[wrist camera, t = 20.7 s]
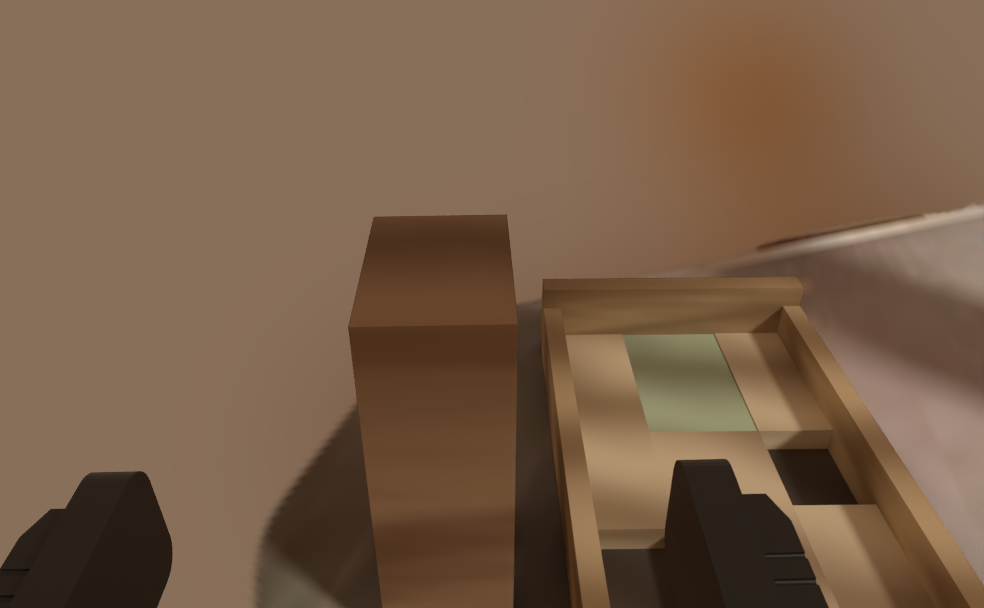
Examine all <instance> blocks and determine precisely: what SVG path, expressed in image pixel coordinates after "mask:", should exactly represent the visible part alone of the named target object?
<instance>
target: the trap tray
mask: <svg viewBox="0 0 984 608" xmlns="http://www.w3.org/2000/svg"><path fill="white" fill-rule="evenodd" d="M803 291H804V286H803V285H802V283H801V282H800V280H799V279H798V278H797V277H717V278H613V279H543V293H542V321H541V351H542V360H543V368H544V377H545V386H546V394H547V403H548V411H549V420H550V429H551V437H552V446H553V455H554V463H555V472H556V481H557V489H558V498H559V507H560V515H561V524H562V532H563V541H564V550H565V558H566V567H567V576H568V584H569V593H570V602H571V608H677V605H676V601H675V597H674V592H673V588H672V584H671V580H670V576H669V572H668V567H667V561H666V553H665V524H666V517H667V510H668V503H669V496H670V489H671V483H672V476H673V469H674V465H675V462H676V461H677V460H698V459H727V460H728V461H729V462H730V464H731V466H732V468H733V471H734V474H735V476H736V479H737V482H738V484H739V487H740V490H741V492H742V494H767V495H768V496H769V498H770V499H771V500H772V501H773V502H774V503H775V504H776V505H777V506H778V507H779V508H780V509H781V510H782V511H783V512H784V513H785V514H786V515H787V516H788V517H789V518H790V520H791V521H792V523H793V525H794V528H795V530H796V532H797V535H798V537H799V539H800V542H801V544H802V546H803V549H804V551H805V558H808V560H809V563H810V565H811V567H812V570H813V572H814V574H815V577H816V583H817V585H819V586H820V588H821V591H822V593H823V595H824V597H825V600H826V602H827V604H828V607H829V608H984V585H983V584H982V582H981V580H980V579H979V577H978V576H977V574H976V573H975V571H974V570H973V568H972V567H971V565H970V564H969V562H968V561H967V559H966V558H965V556H964V555H963V553H962V552H961V550H960V549H959V547H958V546H957V544H956V542H955V541H954V539H953V538H952V536H951V535H950V533H949V532H948V530H947V529H946V527H945V526H944V524H943V523H942V521H941V520H940V518H939V517H938V515H937V514H936V512H935V511H934V509H933V507H932V506H931V504H930V503H929V501H928V500H927V498H926V497H925V495H924V494H923V492H922V491H921V489H920V488H919V486H918V485H917V483H916V482H915V480H914V479H913V477H912V476H911V474H910V473H909V471H908V469H907V468H906V466H905V465H904V463H903V462H902V460H901V459H900V457H899V456H898V454H897V453H896V451H895V450H894V448H893V447H892V445H891V444H890V442H889V441H888V439H887V438H886V436H885V434H884V433H883V431H882V430H881V428H880V427H879V425H878V424H877V422H876V421H875V419H874V418H873V416H872V415H871V413H870V412H869V410H868V409H867V407H866V406H865V404H864V403H863V401H862V400H861V398H860V396H859V395H858V393H857V392H856V390H855V389H854V387H853V386H852V384H851V383H850V381H849V380H848V378H847V377H846V375H845V374H844V372H843V371H842V369H841V368H840V366H839V365H838V363H837V361H836V360H835V358H834V357H833V355H832V354H831V352H830V351H829V349H828V348H827V346H826V345H825V343H824V342H823V340H822V339H821V337H820V336H819V334H818V333H817V331H816V330H815V328H814V327H813V325H812V323H811V322H810V320H809V319H808V317H807V316H806V314H805V313H804V311H803V310H802V308H801V307H800V304H801V300H802V295H803Z"/></svg>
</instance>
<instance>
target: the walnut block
mask: <svg viewBox="0 0 984 608" xmlns="http://www.w3.org/2000/svg"><path fill="white" fill-rule="evenodd" d="M348 329H349V336H350V345H351V353H352V362H353V370H354V378H355V387H356V395H357V403H358V412H359V420H360V428H361V436H362V445H363V453H364V461H365V469H366V478H367V486H368V494H369V503H370V511H371V519H372V527H373V536H374V544H375V552H376V560H377V569H378V577H379V585H380V593H381V602H382V608H513V599H514V541H515V483H516V424H517V366H518V317H517V308H516V298H515V289H514V279H513V269H512V260H511V250H510V241H509V231H508V223H507V215H459V216H400V217H399V216H395V217H394V216H393V217H374V218H373V222H372V227H371V231H370V236H369V240H368V244H367V248H366V253H365V257H364V261H363V266H362V270H361V274H360V279H359V283H358V288H357V292H356V297H355V300H354V305H353V309H352V313H351V318H350V322H349V326H348Z"/></svg>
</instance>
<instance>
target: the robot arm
mask: <svg viewBox="0 0 984 608" xmlns="http://www.w3.org/2000/svg"><path fill="white" fill-rule="evenodd" d="M665 553H666V561H667V567H668V572H669V576H670V580H671V584H672V588H673V592H674V597H675V601H676V605H677V608H829V607H828V604H827V602H826V600H825V597H824V595H823V593H822V591H821V588H820V586H819V585H817V583H816V577H815V574H814V572H813V570H812V567H811V565H810V563H809V560H808V558H805V551H804V549H803V546H802V544H801V542H800V539H799V537H798V535H797V532H796V530H795V528H794V525H793V523H792V521H791V520H790V518H789V517H788V516H787V515H786V514H785V513H784V512H783V511H782V510H781V509H780V508H779V507H778V506H777V505H776V504H775V503H774V502H773V501H772V500H771V499H770V498H769V496H768V495H767V494H742V492H741V490H740V487H739V484H738V482H737V479H736V476H735V474H734V471H733V468H732V466H731V464H730V462H729V461H728V460H727V459H698V460H677V461H676V462H675V465H674V469H673V476H672V483H671V489H670V496H669V503H668V510H667V517H666V524H665ZM171 565H172V542H171V537H170V534H169V532H168V529H167V526H166V523H165V521H164V518H163V515H162V512H161V510H160V507H159V505H158V502H157V499H156V496H155V493H154V491H153V488H152V486H151V483H150V480H149V478H148V476H147V475H146V474H145V473H144V472H141V471H139V472H101V473H99V472H98V473H90V474H88V475H87V476H85V478H84V479H83V480H82V481H81V483H80V484H79V486H78V488H77V490H76V491H75V493H74V495H73V496H72V498H71V500H70V502H69V503H68V505H67V507H66V509H51V510H49V511H48V512H47V513H46V514H45V515H44V516H43V517H42V518H41V519H39V520H38V521H37V522H36V523H35V524H34V525H33V526H32V527H31V528H30V529H28V530H27V531H26V532H25V533H24V534H23V535H22V536H21V537H20V538H19V539H18V541H17V542H16V544H15V546H14V547H13V549H12V550H11V552H10V554H9V555H8V557H7V558H6V560H5V562H4V563H3V565H2V567H1V568H0V608H157V606H158V604H159V601H160V599H161V596H162V593H163V591H164V588H165V586H166V584H167V581H168V578H169V575H170V570H171Z"/></svg>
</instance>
